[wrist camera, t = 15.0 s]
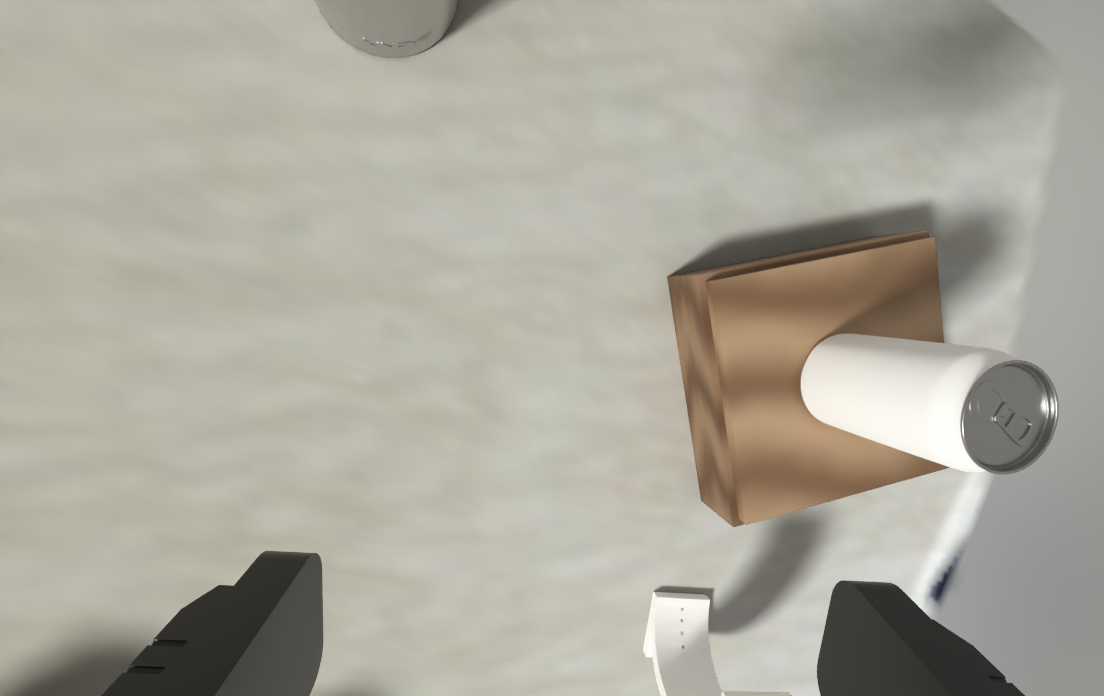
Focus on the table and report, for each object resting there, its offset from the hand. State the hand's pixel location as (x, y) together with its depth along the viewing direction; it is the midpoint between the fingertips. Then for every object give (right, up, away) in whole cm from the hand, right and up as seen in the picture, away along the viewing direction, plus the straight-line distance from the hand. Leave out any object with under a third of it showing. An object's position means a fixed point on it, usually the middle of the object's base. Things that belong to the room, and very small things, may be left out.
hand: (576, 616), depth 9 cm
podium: (+19, +3, +36) cm, 40 cm away
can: (+19, +2, +30) cm, 36 cm away
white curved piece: (+9, -19, +36) cm, 42 cm away
